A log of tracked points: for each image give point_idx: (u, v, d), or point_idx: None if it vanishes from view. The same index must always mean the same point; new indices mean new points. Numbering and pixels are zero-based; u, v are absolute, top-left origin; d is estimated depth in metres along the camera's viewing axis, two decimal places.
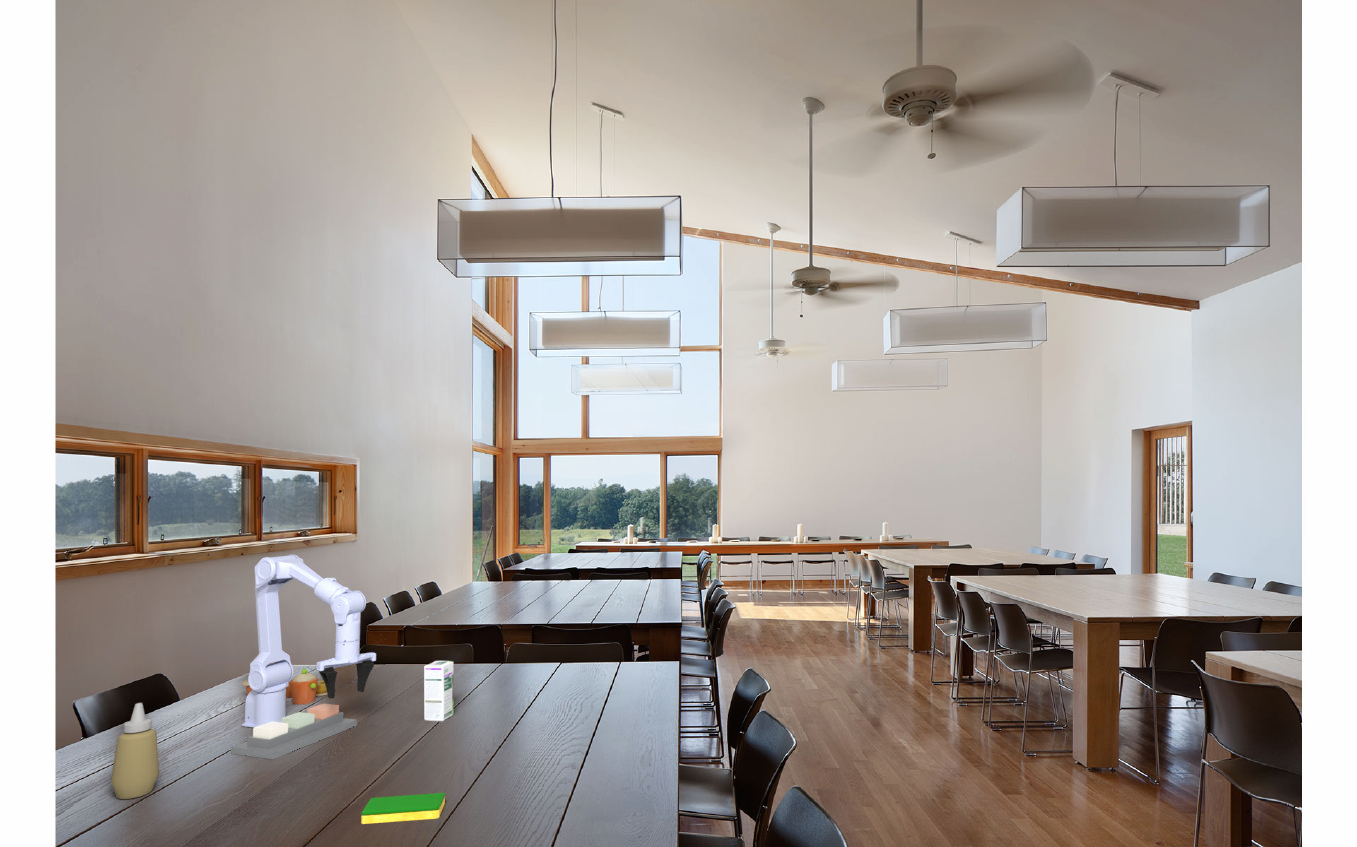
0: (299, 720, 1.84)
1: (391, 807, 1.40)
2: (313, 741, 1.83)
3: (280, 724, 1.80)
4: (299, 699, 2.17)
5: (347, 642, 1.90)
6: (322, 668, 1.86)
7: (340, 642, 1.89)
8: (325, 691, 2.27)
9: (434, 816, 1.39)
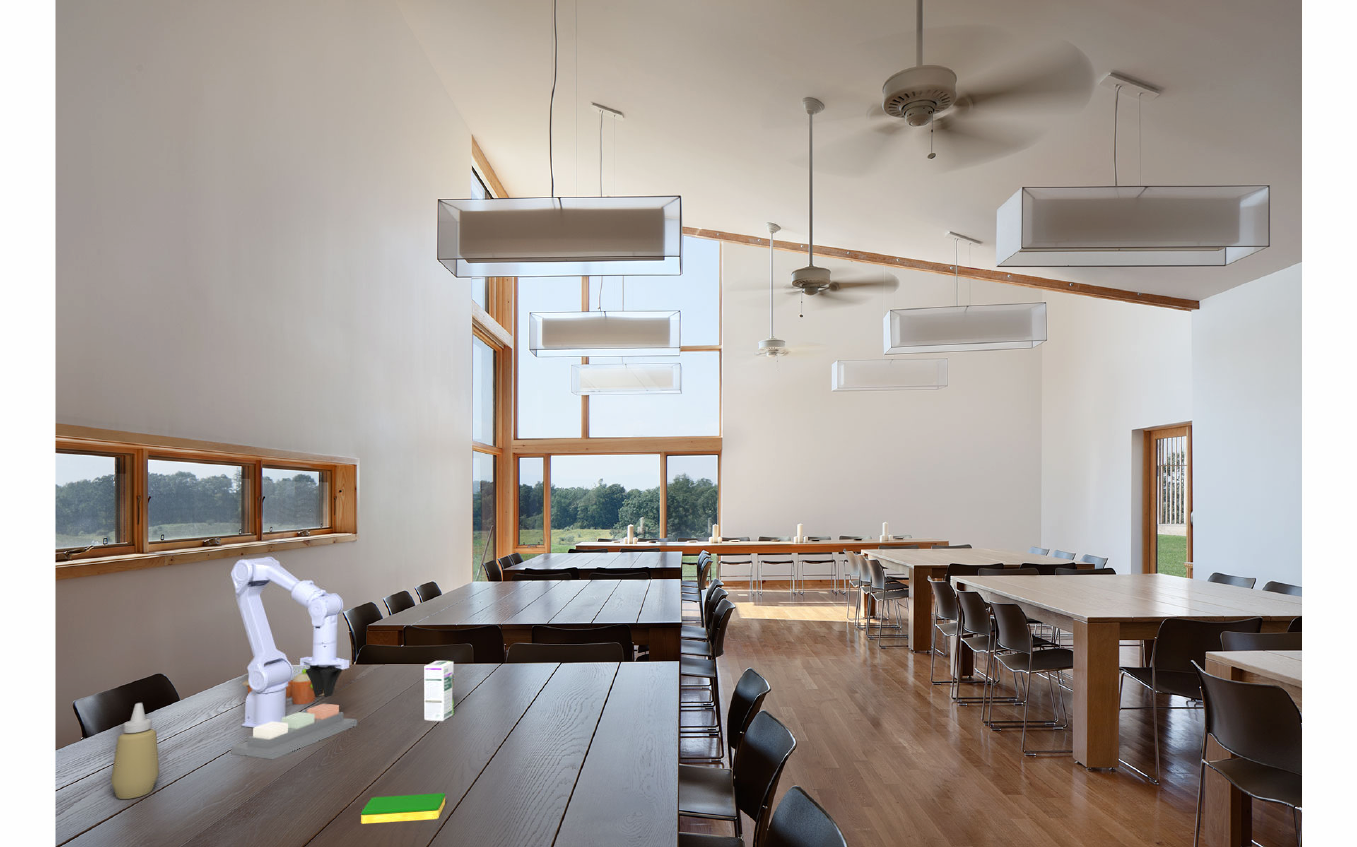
0: (299, 720, 1.84)
1: (390, 807, 1.40)
2: (313, 741, 1.83)
3: (280, 724, 1.80)
4: (299, 699, 2.17)
5: (313, 644, 1.94)
6: (301, 664, 1.96)
7: None
8: None
9: (433, 816, 1.39)
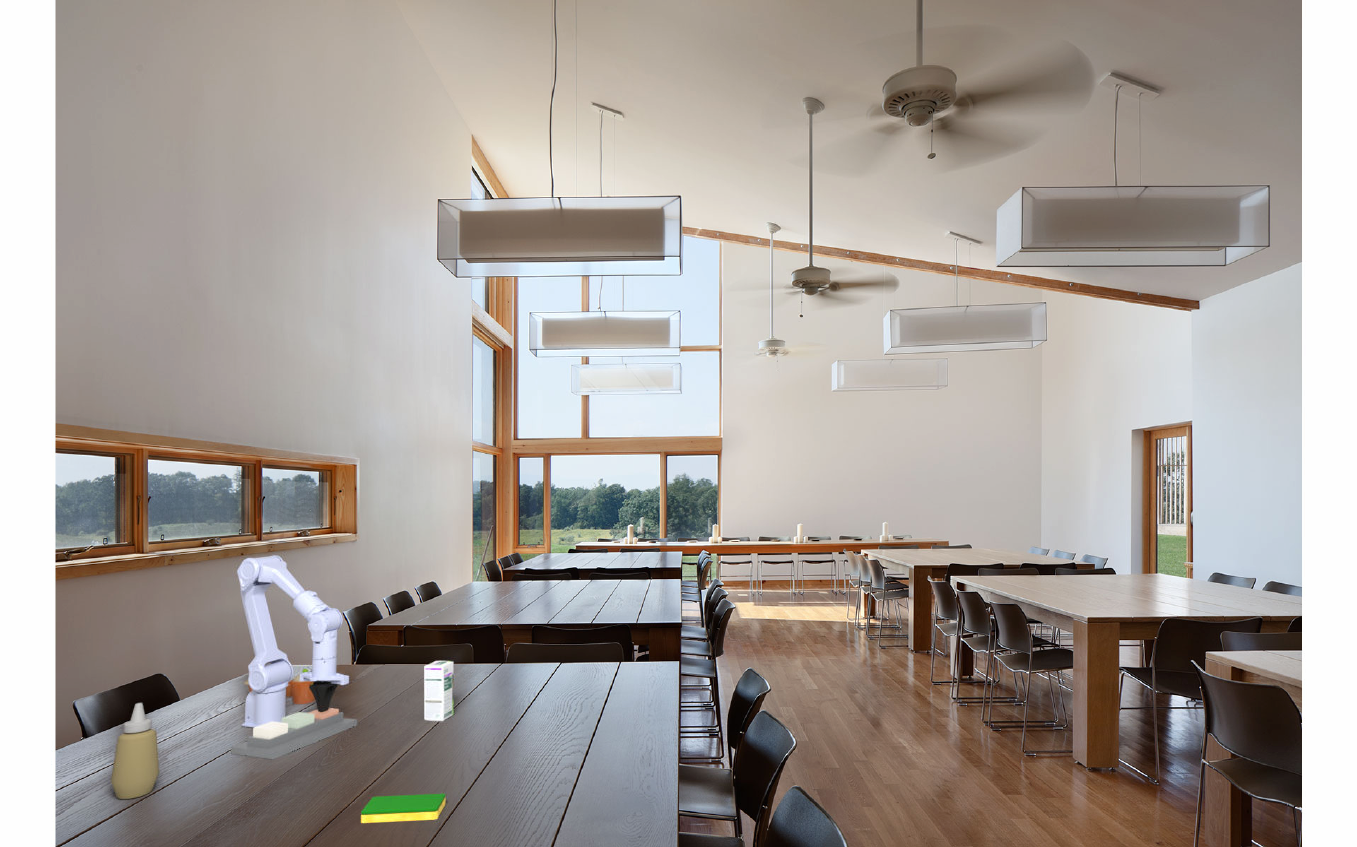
0: (299, 720, 1.84)
1: (390, 807, 1.40)
2: (313, 741, 1.83)
3: (280, 724, 1.80)
4: (300, 699, 2.17)
5: (313, 659, 1.93)
6: (301, 679, 1.96)
7: None
8: None
9: (432, 817, 1.39)
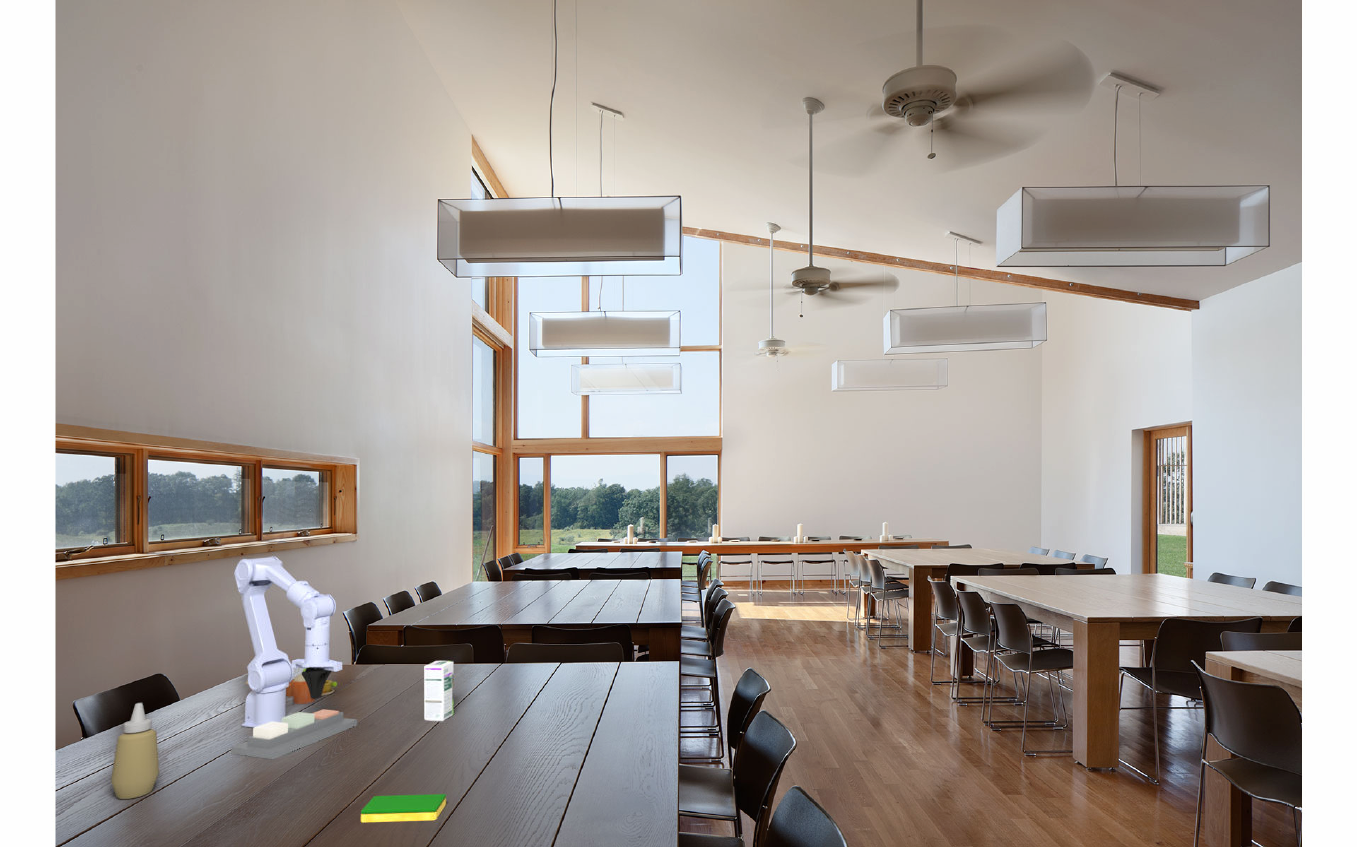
0: (299, 720, 1.84)
1: (390, 807, 1.40)
2: (313, 741, 1.83)
3: (280, 724, 1.80)
4: (300, 698, 2.17)
5: (305, 645, 1.91)
6: (293, 666, 1.94)
7: None
8: (327, 691, 2.27)
9: (431, 818, 1.39)
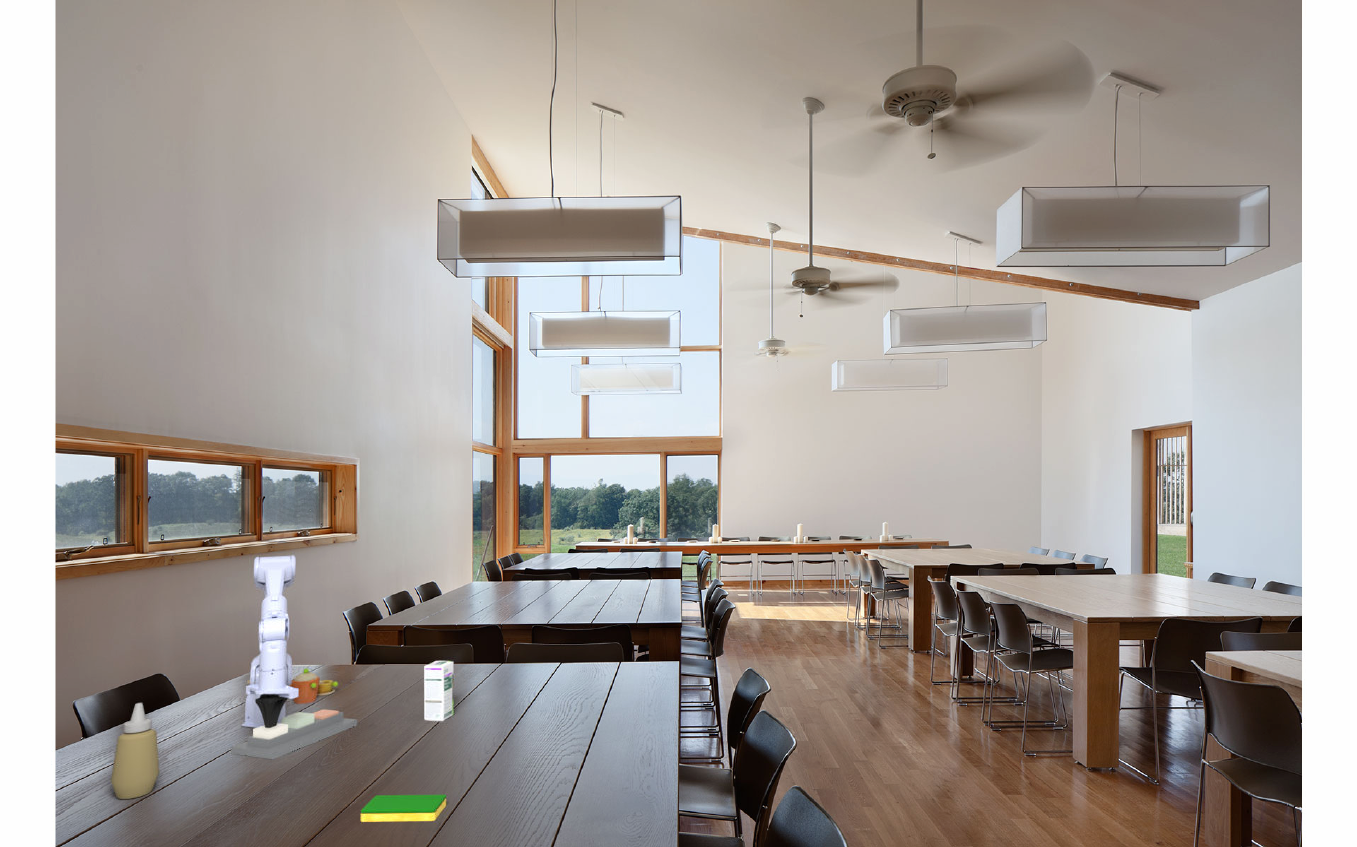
0: (299, 720, 1.84)
1: (389, 806, 1.40)
2: (313, 741, 1.83)
3: (280, 725, 1.80)
4: (300, 698, 2.17)
5: (259, 671, 1.78)
6: (247, 692, 1.81)
7: None
8: (328, 691, 2.27)
9: (430, 819, 1.38)
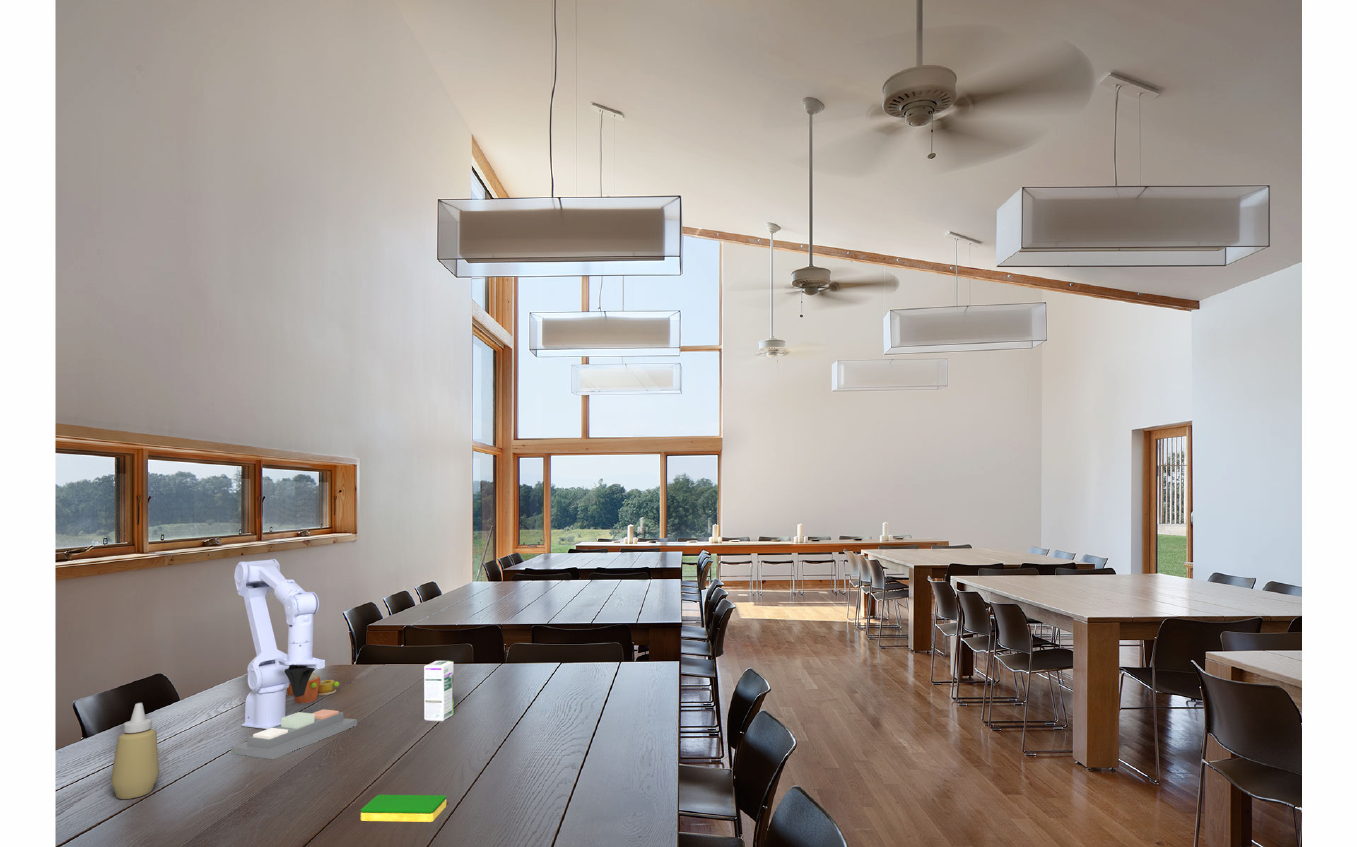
0: (299, 720, 1.84)
1: (389, 806, 1.40)
2: (313, 741, 1.83)
3: (280, 730, 1.80)
4: (300, 698, 2.18)
5: (288, 643, 1.90)
6: (277, 663, 1.93)
7: None
8: (329, 690, 2.28)
9: (428, 819, 1.38)
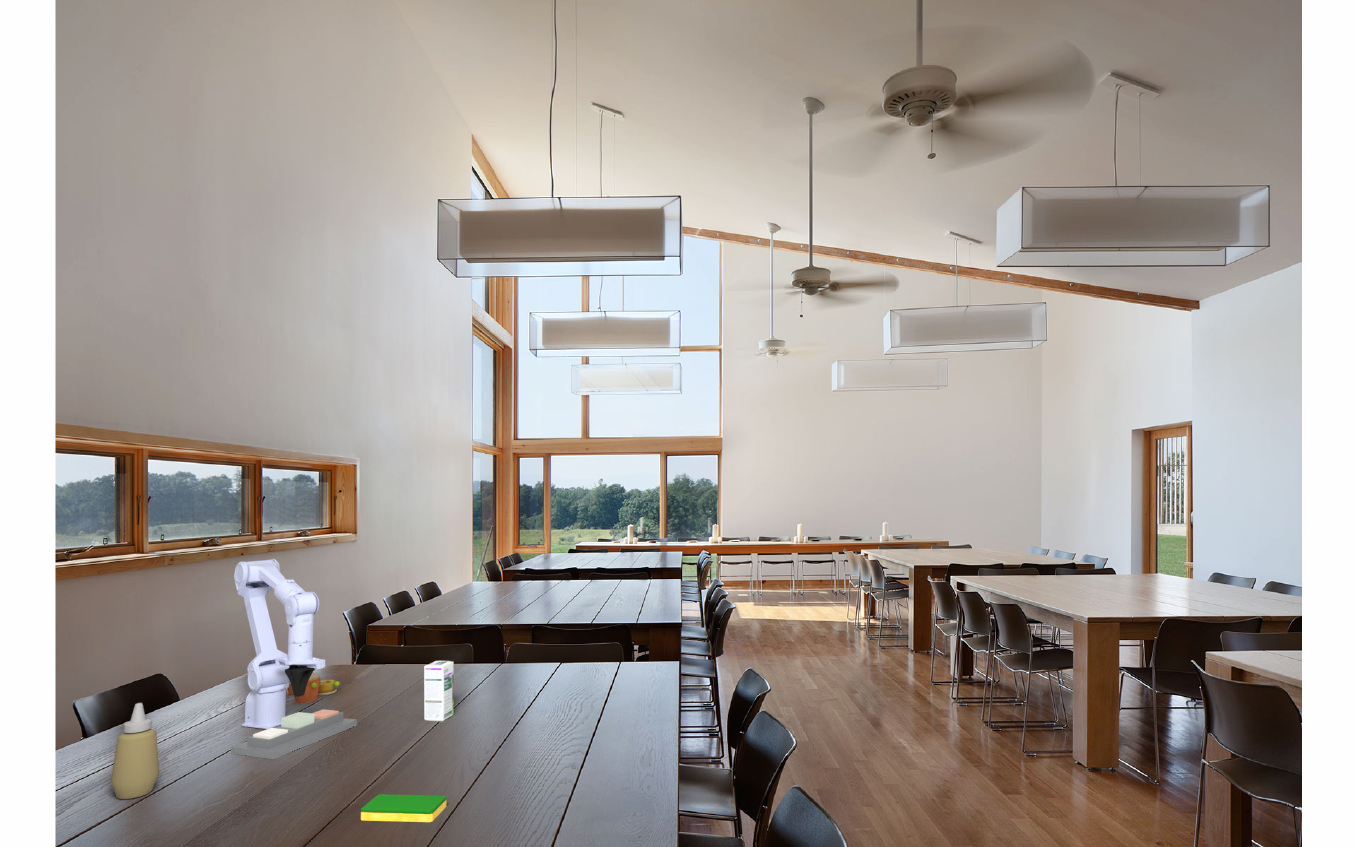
0: (299, 720, 1.84)
1: (389, 806, 1.40)
2: (313, 741, 1.83)
3: (280, 730, 1.80)
4: (300, 698, 2.18)
5: (288, 643, 1.90)
6: (277, 663, 1.93)
7: None
8: (329, 690, 2.28)
9: (427, 820, 1.38)
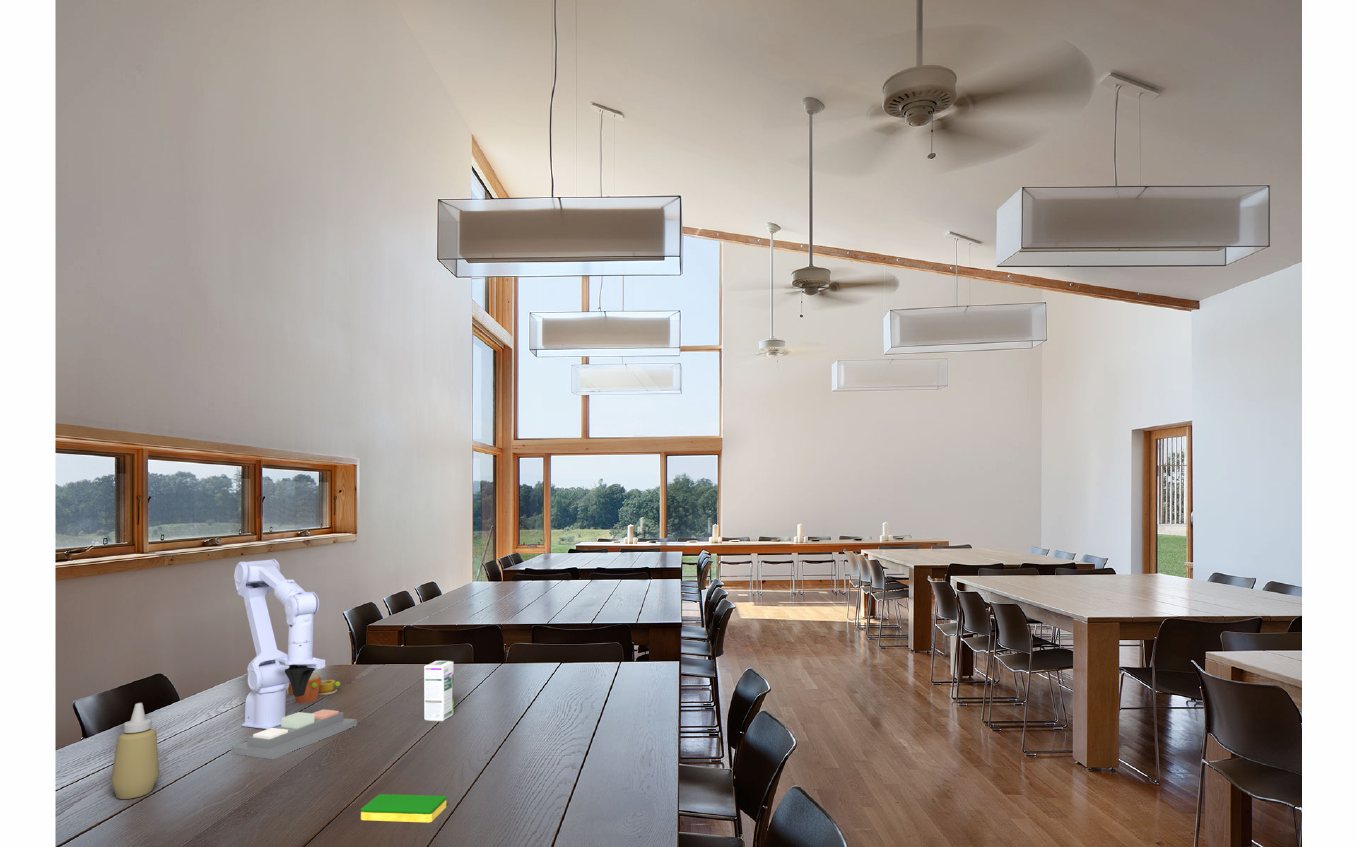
0: (299, 720, 1.84)
1: (389, 806, 1.40)
2: (313, 741, 1.83)
3: (280, 730, 1.80)
4: (301, 698, 2.18)
5: (288, 643, 1.90)
6: (277, 663, 1.93)
7: None
8: (330, 690, 2.28)
9: (426, 820, 1.38)
